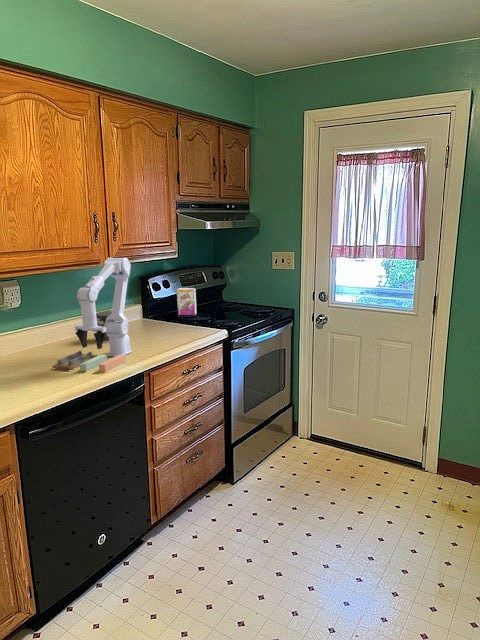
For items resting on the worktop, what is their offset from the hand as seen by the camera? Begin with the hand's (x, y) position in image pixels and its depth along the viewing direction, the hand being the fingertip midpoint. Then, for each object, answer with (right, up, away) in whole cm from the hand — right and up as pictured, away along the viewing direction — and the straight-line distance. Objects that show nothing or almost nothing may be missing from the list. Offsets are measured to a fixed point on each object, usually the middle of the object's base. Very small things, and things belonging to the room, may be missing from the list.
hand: (92, 347), depth 204 cm
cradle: (-9, -7, +7) cm, 13 cm away
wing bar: (+8, -8, +1) cm, 12 cm away
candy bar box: (+29, +15, +98) cm, 104 cm away
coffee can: (-5, +1, +44) cm, 44 cm away
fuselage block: (0, -8, +2) cm, 9 cm away
